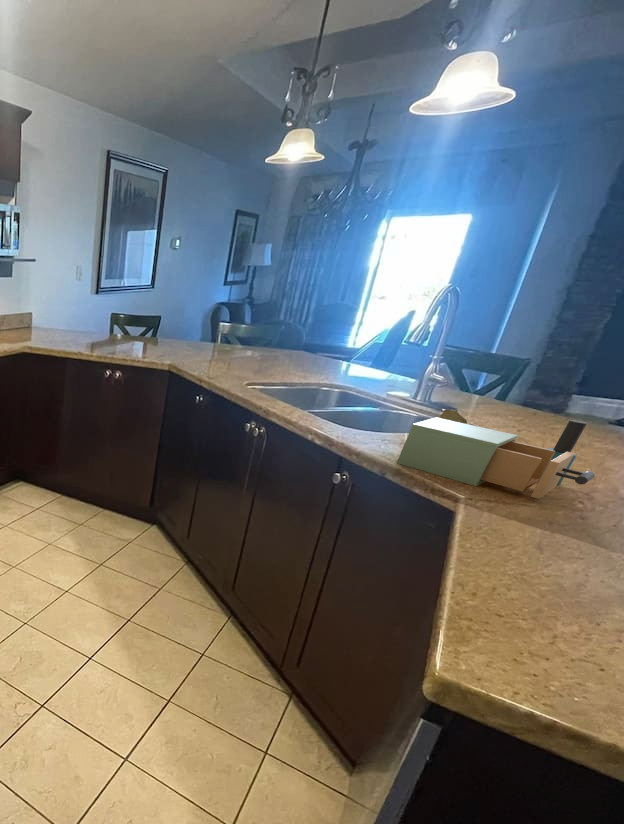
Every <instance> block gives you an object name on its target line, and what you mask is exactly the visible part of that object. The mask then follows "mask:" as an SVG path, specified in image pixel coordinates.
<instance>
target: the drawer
mask: <svg viewBox="0 0 624 824" xmlns="http://www.w3.org/2000/svg"><path fill="white" fill-rule="evenodd" d="M571 452H572V451H571ZM571 452H565V453H564V454H562V455H560V456H558V457H557V458H555V459H553V460H552V461H550V460H551V458H552V456H553V455H554V453H555V451H554V450H549V449H546V448H545V447H540V446H535V445H532V444H527V443H523V442H519V441H515V442H514V441H510V442H508V443H506V444H503V445H501V446H499V447H497V449H496V451H495V453H494V455H493V457H492V459H491V460H490V462H489V464H488V466H487V468H486V470H485V472H484V474H483V476H482V478H481V480H484V481H485V482H487V483H490V484H493V485H494V484H495V485H499V486H500V487H501V486H502V487H504V488H508V489H512V490H515V491H519V492H524V491H526V490H528V489H529V488H531V487H533V486H534V485H535V484H536V486H535V488H534V489H533V491H532V493H531V495H530V497H531V498H534V499H540V498H542V497H543V496H545V495H546V494H548V493H549V492H551V491H552V490H554V489H555V488H556V487H557V486H558V485H557V483H558V482H559V480H560V478H561V477H564V479H568V480H572V481H574V482H575V483H576V484H577V485H585V484H587V483H588V482H590V481H591V480H592V479H594V478H595V473H594V472H593V471H591V470H587V471H584V472H582V471H578V470H574V469H571V468H569V469H566V468H567V466H568V465H569V463H570V461H571V459H572V458H573V456H574V454H576V453H575V452H572V453H571ZM549 462H550V463H549ZM548 464H549V465H548ZM547 465H548V466H547ZM546 467H547V468H546ZM545 469H546V470H545ZM544 471H545V472H544ZM543 472H544V473H543ZM564 472H567V474H564ZM542 474H543V475H542ZM572 474H573V475H572ZM575 475H576V476H575ZM541 476H542V477H541ZM540 478H541V479H540ZM539 479H540V481H539Z"/></svg>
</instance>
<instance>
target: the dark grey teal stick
mask: <svg viewBox="0 0 624 824" xmlns="http://www.w3.org/2000/svg"><path fill="white" fill-rule="evenodd" d="M587 425H588V422H585V421H582V420H578V419H569V420H568V422H567V424H566V426H565V428H564V430H563V431H562V433H561V435H560V436H559V438H558V441H557V442H556V444H555V445H554V447H547V448H545V449H549V450H554V451H555V453H554V455H553V456H552V458H551V460H550V461H552V460H553V459H555V458H557V457H558V456H560V455H562V454H564V453H565V452H571V453H573V452H572V451H573V449H574V447H575V446H576V444H577V442H578V441H579V439H580V437H581V436H582V433H583V432H584V430H585V428H586V427H587ZM577 456H578V454H576V453H575V454H574V456H573V458H572V459H571V461H570V463H569V465H568V466H567V468H566V469H571V467H572V465H573V463H574V462H575V460H576V458H577ZM549 463H550V462H549ZM548 465H549V464H548ZM548 465H547V466H548ZM546 468H547V467H546ZM545 470H546V469H545ZM544 472H545V471H544ZM544 472H543V473H544ZM564 474H568V472H564ZM542 475H543V474H542ZM541 477H542V476H541ZM540 479H541V478H540ZM540 479H539V481H540ZM564 479H565V477H561V478H560V480H559V482H558V483H557V485H556V486H560V485H561V484H562V482H563V481H564ZM539 481H538V482H539ZM559 484H560V485H559Z"/></svg>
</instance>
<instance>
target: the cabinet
mask: <svg viewBox="0 0 624 824" xmlns="http://www.w3.org/2000/svg"><path fill="white" fill-rule="evenodd" d="M518 436H519V435H517V434H515V433H509V432H505V431H499V430H496V429H491V428H487V427H483V426H478V425H474V424H473V425H472V424H469V423H467V424H464V423H460V422H455V421H450V420H446V419H441V418H439V417H438V416H437V417H436V416H435V417H432V418H429V419H425V420H423V421H418V422H415V423H412V425H411V427H410V430H409V432H408V435H407V437H406V439H405V442H404V444H403V446H402V448H401V451H400V453H399V455H398V458H397V461H396V464H398V465H402V466H406V467H408V468H412V469H414V470H415V469H416V470H419V471H422V472H426V473H429V474H433V475H436V476H440V477H442V478H446V479H450V480H453V481H457V482H460V483H463V484H467V485H470V486H473V487H478V486H480V485H482V484H484V483H485V482H486V481H484V480H481V478H482V476H483V474H484V472H485V470H486V468H487V466H488V464H489V462H490V460H491V459H492V457H493V455H494V453H495V451H496V449H497V447H499V446H501V445H503V444H506V443H508V442H510V441H514V442H516V440H517V438H518Z"/></svg>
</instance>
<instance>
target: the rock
mask: <svg viewBox="0 0 624 824" xmlns="http://www.w3.org/2000/svg"><path fill="white" fill-rule="evenodd" d="M438 418H441V419H446V420H450V421H455V422H460V423H464V424H468V421H467V419H466V418H465V417H463V416H462V415H461V414H460V413H459V412H457V411H456V410H452V409H448V408H446V409H445V410H444V411H443V412H442V413H441V414H440V415H439V417H438Z"/></svg>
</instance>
